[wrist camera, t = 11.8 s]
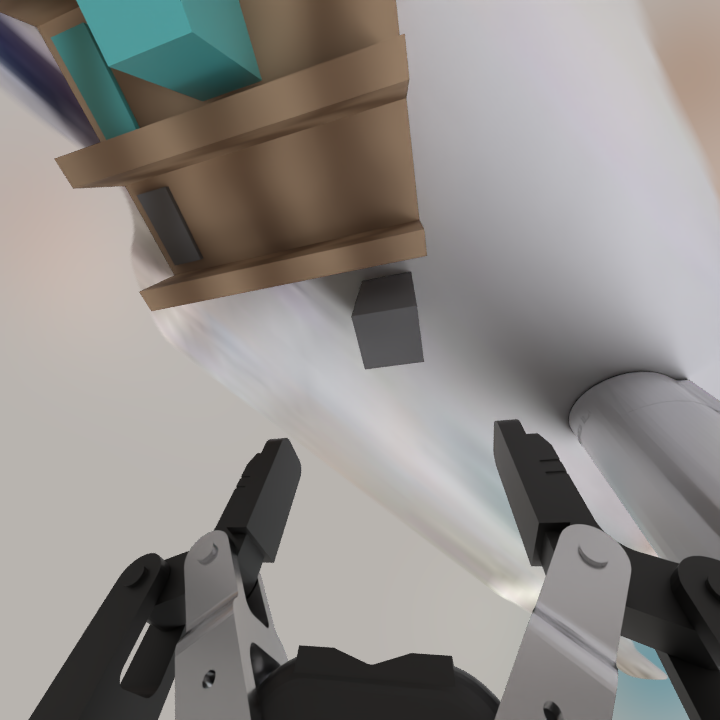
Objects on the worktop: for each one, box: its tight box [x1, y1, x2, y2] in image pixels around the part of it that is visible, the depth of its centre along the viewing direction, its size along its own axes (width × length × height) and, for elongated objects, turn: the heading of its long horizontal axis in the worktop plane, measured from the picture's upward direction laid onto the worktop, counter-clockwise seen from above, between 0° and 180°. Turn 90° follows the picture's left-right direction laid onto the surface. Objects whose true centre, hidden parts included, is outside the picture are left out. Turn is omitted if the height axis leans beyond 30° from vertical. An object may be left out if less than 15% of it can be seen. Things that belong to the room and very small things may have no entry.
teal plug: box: [76, 0, 262, 101], centre depth 13 cm, size 4×4×7 cm
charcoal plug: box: [351, 272, 424, 369], centre depth 22 cm, size 4×4×7 cm
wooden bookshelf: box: [0, 0, 427, 311], centre depth 17 cm, size 20×18×5 cm
